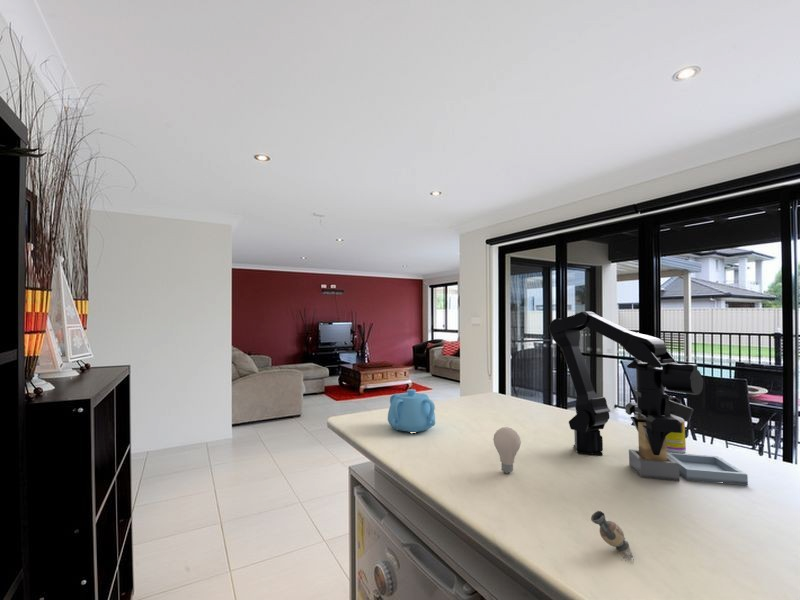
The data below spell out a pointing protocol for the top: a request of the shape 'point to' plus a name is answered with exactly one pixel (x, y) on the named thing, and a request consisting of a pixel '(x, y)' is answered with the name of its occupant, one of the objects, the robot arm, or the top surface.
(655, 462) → the socket
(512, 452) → the light bulb
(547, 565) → the top surface
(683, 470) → the tray
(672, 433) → the supplement bottle
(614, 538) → the vase
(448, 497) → the top surface
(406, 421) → the decorative pot
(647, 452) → the peg
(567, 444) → the top surface
